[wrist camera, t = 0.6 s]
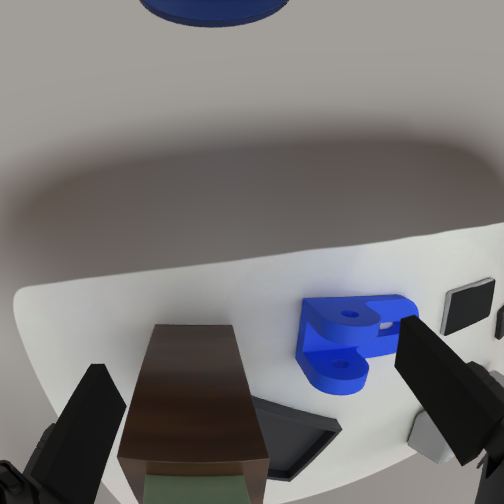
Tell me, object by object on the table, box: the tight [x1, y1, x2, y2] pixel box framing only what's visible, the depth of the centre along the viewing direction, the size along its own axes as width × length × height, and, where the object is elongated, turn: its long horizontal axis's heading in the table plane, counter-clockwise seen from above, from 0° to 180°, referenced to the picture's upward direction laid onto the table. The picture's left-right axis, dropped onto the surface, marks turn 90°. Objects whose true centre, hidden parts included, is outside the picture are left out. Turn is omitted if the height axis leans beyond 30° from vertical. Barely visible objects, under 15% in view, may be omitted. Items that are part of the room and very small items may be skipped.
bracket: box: [295, 295, 419, 395], centre depth 32 cm, size 18×8×9 cm, turn 86°
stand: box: [117, 324, 270, 504], centre depth 23 cm, size 9×9×20 cm
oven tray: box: [251, 396, 342, 482], centre depth 36 cm, size 15×19×3 cm
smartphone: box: [441, 278, 495, 336], centre depth 40 cm, size 8×1×15 cm
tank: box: [407, 371, 504, 464], centre depth 39 cm, size 25×16×12 cm, turn 96°
